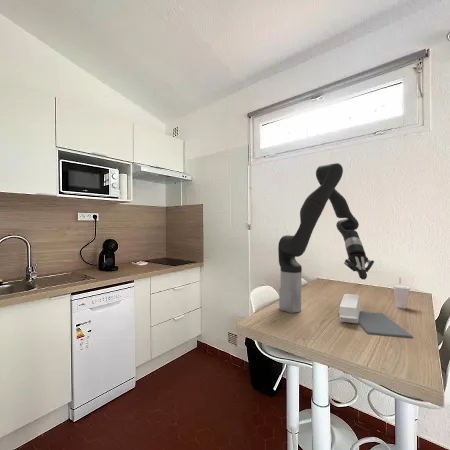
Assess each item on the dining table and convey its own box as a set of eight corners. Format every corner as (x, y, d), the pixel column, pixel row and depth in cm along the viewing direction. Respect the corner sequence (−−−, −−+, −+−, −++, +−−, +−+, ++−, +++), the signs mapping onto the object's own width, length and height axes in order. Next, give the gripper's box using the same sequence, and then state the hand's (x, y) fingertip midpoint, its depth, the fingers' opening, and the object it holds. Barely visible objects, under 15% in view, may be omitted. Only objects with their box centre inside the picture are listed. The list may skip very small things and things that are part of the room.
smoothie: (393, 304, 117) (393, 275, 118) (410, 307, 113) (410, 277, 114) (392, 307, 113) (392, 277, 113) (409, 310, 108) (409, 279, 109)
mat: (412, 337, 81) (412, 336, 81) (367, 333, 84) (367, 332, 84) (382, 314, 103) (382, 313, 103) (347, 312, 105) (347, 310, 105)
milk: (360, 307, 107) (357, 327, 89) (345, 306, 111) (339, 325, 92) (359, 294, 107) (356, 310, 89) (344, 293, 111) (338, 309, 92)
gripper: (341, 243, 116) (349, 272, 104) (371, 243, 114) (383, 274, 102) (338, 252, 121) (345, 282, 109) (367, 253, 119) (377, 284, 107)
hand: (363, 278), depth 105 cm, fingers closed
